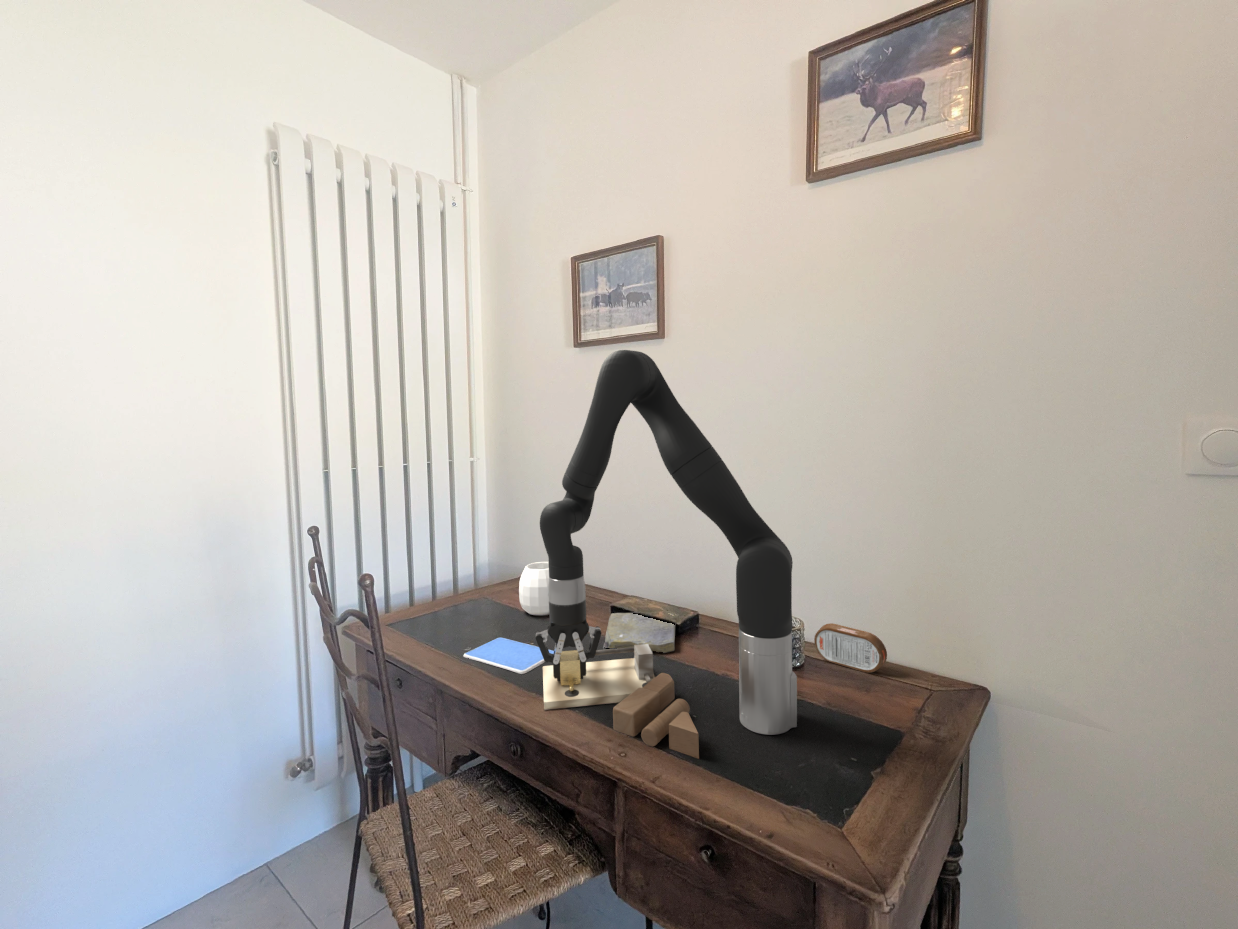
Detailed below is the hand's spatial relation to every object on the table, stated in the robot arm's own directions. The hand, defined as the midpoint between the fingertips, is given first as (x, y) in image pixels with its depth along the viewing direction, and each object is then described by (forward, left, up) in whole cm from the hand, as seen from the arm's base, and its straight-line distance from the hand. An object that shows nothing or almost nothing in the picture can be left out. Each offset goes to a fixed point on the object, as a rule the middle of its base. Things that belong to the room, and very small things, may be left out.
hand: (570, 678), depth 118 cm
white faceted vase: (+5, -48, -2) cm, 48 cm away
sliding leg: (0, +2, 0) cm, 2 cm away
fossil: (-19, -23, -3) cm, 30 cm away
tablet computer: (+13, -19, -3) cm, 23 cm away
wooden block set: (-18, +17, -3) cm, 25 cm away
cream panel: (-6, 0, -2) cm, 6 cm away
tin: (-60, +2, -2) cm, 61 cm away
